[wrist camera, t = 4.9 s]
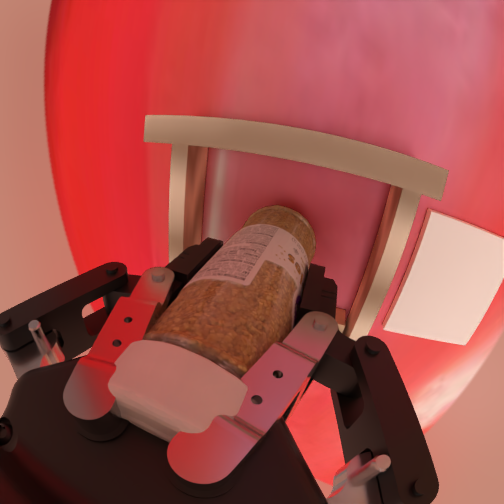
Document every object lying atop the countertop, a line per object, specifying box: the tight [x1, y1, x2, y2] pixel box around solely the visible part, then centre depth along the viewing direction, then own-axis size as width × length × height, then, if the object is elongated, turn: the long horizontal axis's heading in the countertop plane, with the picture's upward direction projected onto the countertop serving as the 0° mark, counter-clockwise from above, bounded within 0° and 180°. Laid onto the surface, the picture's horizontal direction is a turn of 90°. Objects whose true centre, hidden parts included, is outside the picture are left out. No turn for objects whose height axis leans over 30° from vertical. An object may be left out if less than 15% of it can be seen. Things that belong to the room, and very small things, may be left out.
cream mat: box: [383, 208, 504, 345], centre depth 17 cm, size 10×9×1 cm
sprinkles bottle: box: [108, 205, 316, 443], centre depth 11 cm, size 5×5×14 cm
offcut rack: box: [144, 115, 449, 341], centre depth 17 cm, size 16×15×6 cm
